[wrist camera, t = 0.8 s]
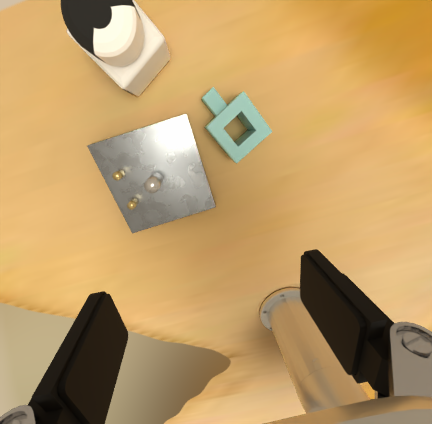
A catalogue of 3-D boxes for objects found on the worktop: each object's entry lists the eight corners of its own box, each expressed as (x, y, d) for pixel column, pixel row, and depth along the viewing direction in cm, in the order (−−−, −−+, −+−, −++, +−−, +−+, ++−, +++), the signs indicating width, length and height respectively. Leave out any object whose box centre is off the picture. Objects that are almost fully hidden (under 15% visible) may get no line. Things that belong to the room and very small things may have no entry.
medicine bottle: (94, 53, 28) (28, 4, 17) (129, 7, 26) (82, -79, 15) (138, 98, 30) (106, 81, 19) (172, 58, 29) (159, 14, 18)
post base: (186, 114, 32) (185, 111, 26) (215, 204, 37) (218, 217, 32) (91, 144, 32) (70, 148, 26) (134, 229, 38) (124, 247, 32)
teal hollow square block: (261, 130, 34) (272, 131, 29) (230, 158, 35) (236, 163, 30) (223, 78, 30) (228, 69, 26) (190, 110, 31) (190, 108, 27)
